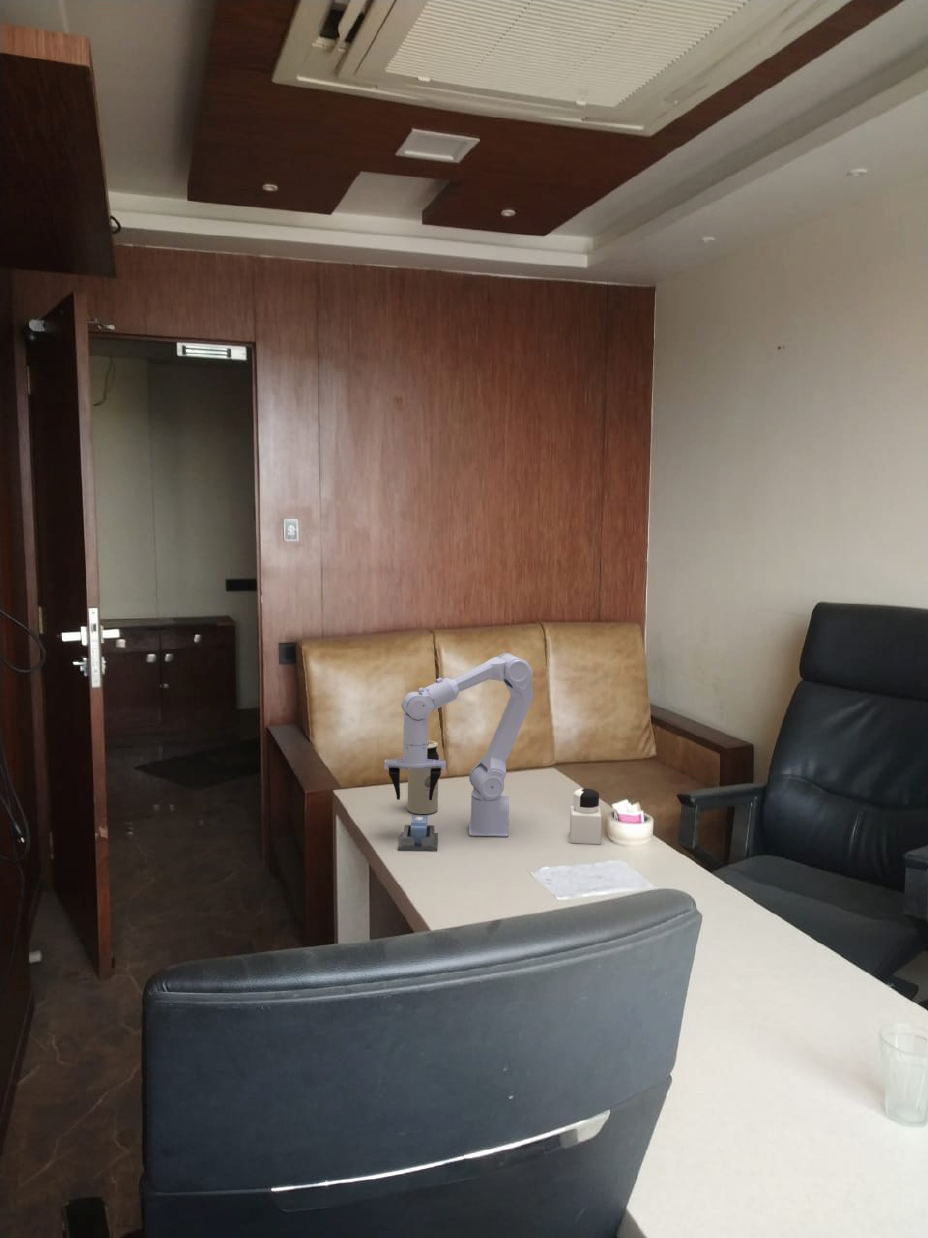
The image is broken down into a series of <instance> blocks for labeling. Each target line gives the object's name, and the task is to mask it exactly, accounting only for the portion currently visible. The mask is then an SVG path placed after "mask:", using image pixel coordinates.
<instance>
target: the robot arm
mask: <svg viewBox="0 0 928 1238" xmlns="http://www.w3.org/2000/svg"><path fill="white" fill-rule="evenodd" d="M533 676H534V672H533V669H532V668H531V665H530V664H529V663H528V662H527V660H525V659H524V658H520V657H518V656H515V655H514V654H512V653H510V652H505V653H502V654H499V656H495V657H492V658H490V659H489V660H487V661H486V662H483V663H482V664H480V665H478V666H476V667H474V668H472V669H470V670H468V671H467V672H465V673H463V674H461V675H459V676H458V677H455V678H454V679H452V678H448V677H445V678H442V677H438V678H436V682H434V683H432V684H430V685H428V686H426V687H422V686H421V687H419V688H418V691H410V692H408V693H407V694H406V695H405V697H403V699H402V702H401V704H400V705H401V708H402V711H403V713H404V716H403V717H404V718H403V719H404V720H403V721H404V723H403V743H402V744H403V749H402V750H403V751H402V752H403V753H402V755H403V757H402V758H395V759H394V758H393V759H384V764H383V765H384V767H383V768H384V771H385V770H388V775H389V777H390V781H392V785H393V787H394V790H395V795H396V796H395V797H396V800H398V801H399V800H401V785H400V782H401V781H400V780H401V779H400V778H401V776H400V775H401V773H400V772H401V770H408V769H431V771H430V791H429V800H432V796H433V792H434V788H435V786H436V783H437V781H438V782H439V778H440V777H441V774H442V772H441V771H446V769H447V768H446V764H447V763H446V760H440V759H439V760H432V759H427V740H428V739H429V738H428V735H429V734H428V732H429V731H428V728H429V725H428V717H429V716H430V714H431V713H432V711H435V710H437V709H439V708H441V707H443V706H446V705H447V704H449V703H451V702H453V701H455V700H457V698H458V696H459V693H460V692H463V691H465V690H467V689H471V688H473V687H475V686H477V685H479V684H481V683H484V682H486V681H489V680H492V681H499V682H503V683H504V684H505V686H506V688H507V690H508V692H509V699H508V701H507V703H506V706H505V708H504V710H503V712H502V714H501V718H500V720H499V723H498V724H497V727H496V729H495V731H494V734H493V737H492V739H491V741H490V744H489V746H488V748H487V750H486V753H485V754H484V755H482V757H480V758H479V760H478V762H477V764H476V765H475V766H474V767H473V768H472V769H471V770H470V773H469V776H468V778H469V784H470V785H471V786H472V787H473V788H472V792H471V795H470V797H471V798H470V801H471V802H470V807H471V808H470V822H469V823H468V835H469V836H471V837H472V836H474V837H509V827H510V818H509V817H510V800H509V799H510V798H509V796H507V795H502V794H503V792H504V789H505V778H506V775H507V760H508V758H509V756H510V753H511V752H512V749H513V747H514V745H515V742H516V739H517V737H518V736H519V732H520V729H521V727H522V725H523V723H524V720H525V718H526V716H527V713H528V711H529V709H530V706H531V704H532V701H533V699H534V686H533V685H534V684H533Z"/></svg>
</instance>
